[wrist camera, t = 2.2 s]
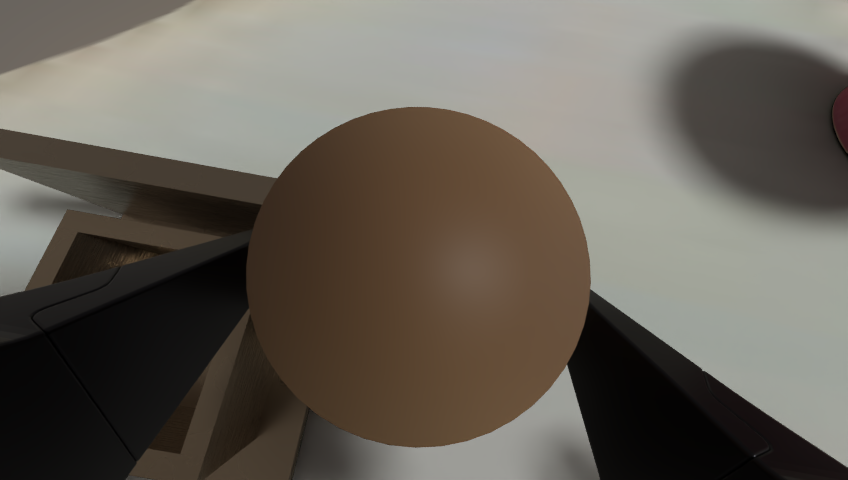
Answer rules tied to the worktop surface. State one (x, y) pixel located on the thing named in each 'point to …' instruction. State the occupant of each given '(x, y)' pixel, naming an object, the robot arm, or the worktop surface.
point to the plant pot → (841, 118)
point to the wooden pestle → (418, 277)
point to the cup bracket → (155, 235)
